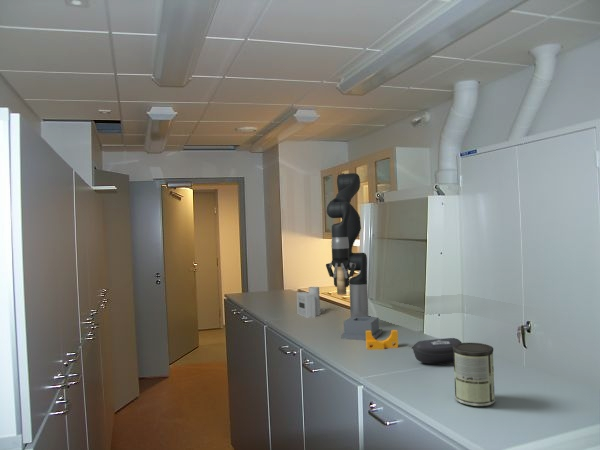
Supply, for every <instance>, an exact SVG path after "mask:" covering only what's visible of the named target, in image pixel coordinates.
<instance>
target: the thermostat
mask: <svg viewBox="0 0 600 450" xmlns="http://www.w3.org/2000/svg"><path fill="white" fill-rule="evenodd" d="M320 305H321V304H320V286H310V287H308V292H306V291H302V292H300V291H299V292H296V309H297V310H296V313H297V315H298V314H299V315H298V316H301V317H303V316H304V317H303V318H306V319H310V318H311V317H312V318H316V317H317V316H321V313H322V312H326V311H327V309H326V308H321V306H320Z"/></svg>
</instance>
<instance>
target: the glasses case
mask: <svg viewBox="0 0 600 450" xmlns="http://www.w3.org/2000/svg"><path fill="white" fill-rule="evenodd" d="M459 343H463V342H462V341H461V340H460V339H459V338H456V337H447V338H435V339H425V340H419V341H417V342H416V343H415V344H413V345H412V347H411V349H412V350H413V354H414V357H415V359H416V360H417V361H418V362H420V363H423V364H428V365H429V364H431V365H440V364H441V365H443V364H449V363H454V352H453V346H454V345H456V344H459Z"/></svg>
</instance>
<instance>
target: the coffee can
mask: <svg viewBox="0 0 600 450" xmlns="http://www.w3.org/2000/svg"><path fill="white" fill-rule="evenodd" d="M453 352H454V361H453V370H454V371H453V372H454V373H453V375H454V392H455V393H454V399H455V400H456V401H457V402H458V403H461V404H464V405H466V406H474V407H486V406H491V405H493V404H494V403H495V402H496V398H495V397H496V396H495V376H494V375H495V374H494V373H495V372H494V371H495V369H494V347H493V346H491V345H489V344H486V343H479V342H462V343H459V344H456V345H454V346H453Z"/></svg>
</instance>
